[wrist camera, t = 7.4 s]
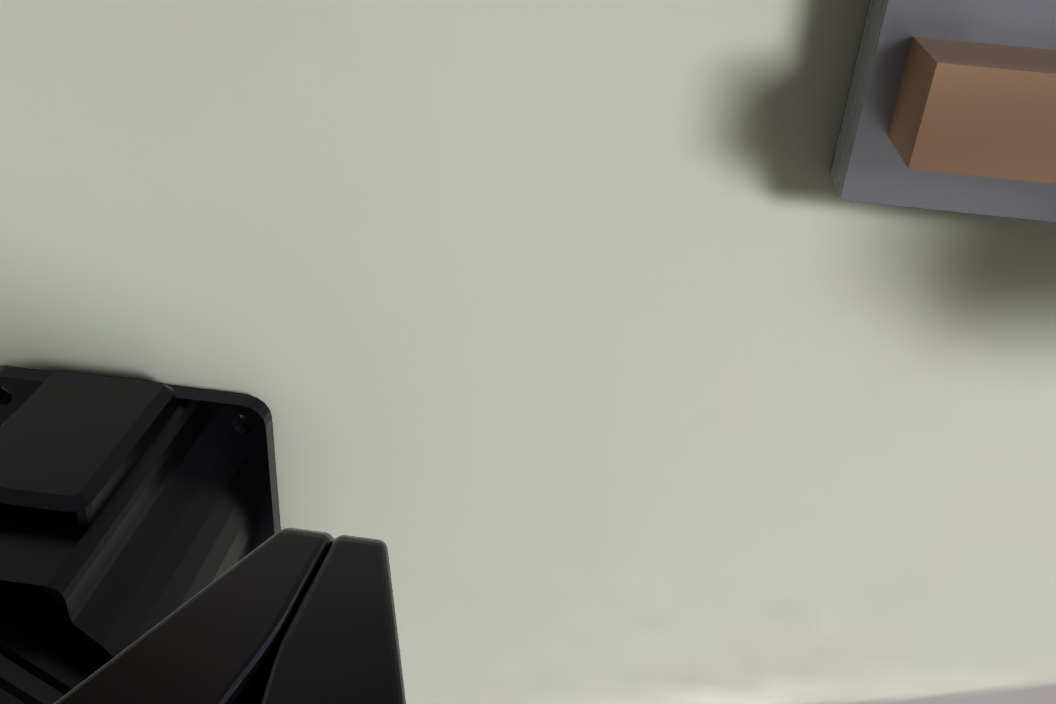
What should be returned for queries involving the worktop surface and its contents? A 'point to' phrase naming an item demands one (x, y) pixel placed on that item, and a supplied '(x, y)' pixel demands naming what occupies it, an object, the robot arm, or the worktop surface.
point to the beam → (977, 110)
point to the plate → (863, 144)
